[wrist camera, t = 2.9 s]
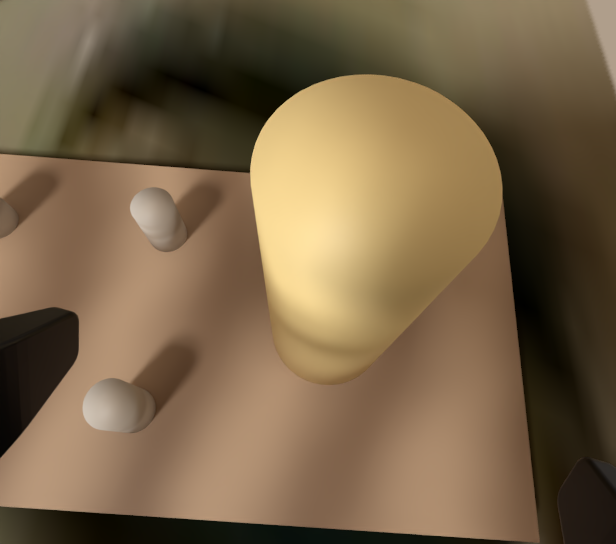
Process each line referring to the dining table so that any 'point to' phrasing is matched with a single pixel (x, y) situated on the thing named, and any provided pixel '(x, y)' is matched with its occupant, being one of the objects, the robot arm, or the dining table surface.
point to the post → (365, 216)
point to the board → (247, 372)
